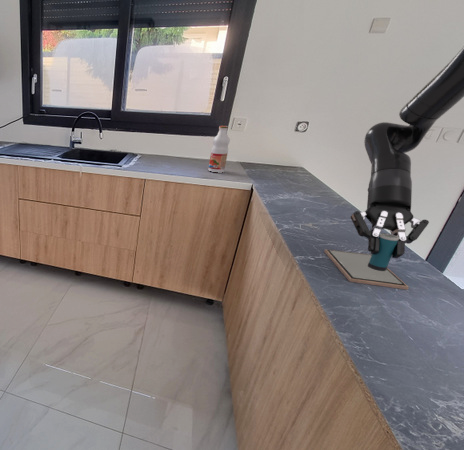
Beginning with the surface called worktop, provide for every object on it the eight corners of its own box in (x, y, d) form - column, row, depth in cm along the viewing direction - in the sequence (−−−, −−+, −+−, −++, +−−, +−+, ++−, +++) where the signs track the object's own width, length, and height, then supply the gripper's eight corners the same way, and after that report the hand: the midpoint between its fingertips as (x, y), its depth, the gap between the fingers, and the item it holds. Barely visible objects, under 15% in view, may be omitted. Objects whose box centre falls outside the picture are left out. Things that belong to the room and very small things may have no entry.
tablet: (371, 257, 94) (373, 254, 94) (407, 289, 79) (409, 286, 78) (324, 251, 98) (325, 248, 98) (349, 281, 83) (350, 278, 82)
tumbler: (381, 266, 77) (394, 234, 74) (389, 272, 74) (402, 239, 71) (364, 263, 78) (376, 232, 75) (371, 269, 75) (384, 237, 72)
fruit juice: (226, 173, 193) (235, 126, 182) (210, 173, 194) (218, 126, 183) (220, 169, 202) (228, 125, 191) (205, 170, 203) (212, 125, 192)
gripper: (358, 180, 78) (353, 243, 73) (439, 187, 71) (438, 257, 66) (346, 195, 84) (341, 253, 79) (419, 202, 77) (418, 267, 72)
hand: (385, 254), depth 73 cm, fingers closed on tumbler, 3 cm apart
